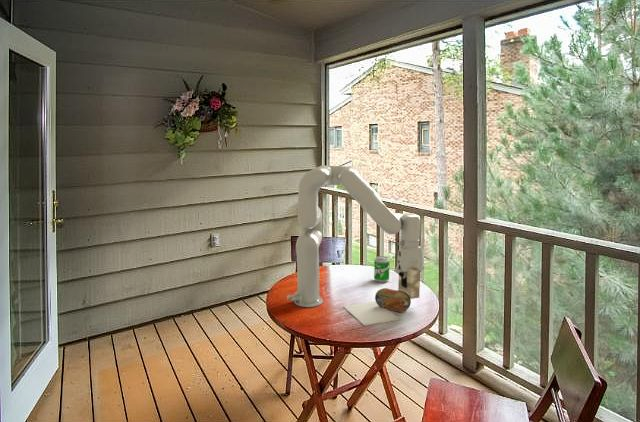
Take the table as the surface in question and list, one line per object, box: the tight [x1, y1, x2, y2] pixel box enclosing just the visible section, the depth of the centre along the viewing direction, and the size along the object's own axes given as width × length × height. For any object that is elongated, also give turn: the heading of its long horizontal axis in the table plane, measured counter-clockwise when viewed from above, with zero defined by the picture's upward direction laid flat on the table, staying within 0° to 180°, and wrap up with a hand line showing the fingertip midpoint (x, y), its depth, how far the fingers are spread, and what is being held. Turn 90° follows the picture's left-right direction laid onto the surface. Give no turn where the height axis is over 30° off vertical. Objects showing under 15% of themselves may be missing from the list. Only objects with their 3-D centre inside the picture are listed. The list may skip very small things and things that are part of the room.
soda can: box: [373, 255, 390, 283], centre depth 220 cm, size 8×8×12 cm
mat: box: [343, 300, 401, 327], centre depth 180 cm, size 16×20×1 cm
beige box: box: [397, 268, 421, 300], centre depth 184 cm, size 4×10×12 cm, turn 21°
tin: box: [374, 287, 412, 313], centre depth 183 cm, size 15×3×8 cm, turn 61°
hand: (408, 285), depth 185 cm, fingers closed on beige box, 4 cm apart
